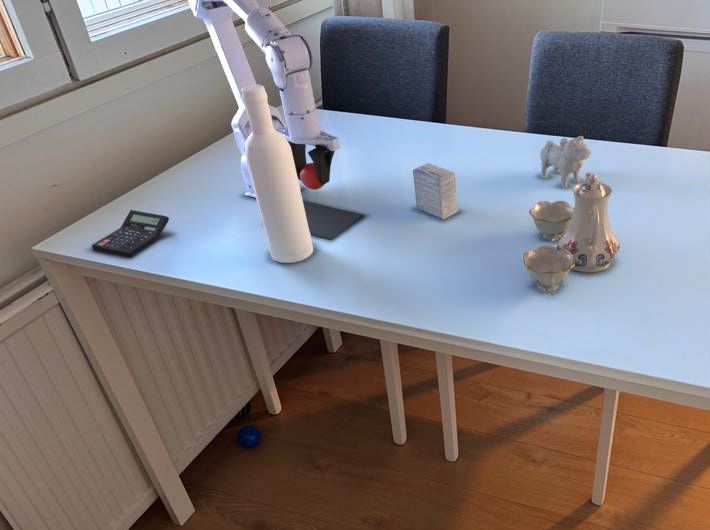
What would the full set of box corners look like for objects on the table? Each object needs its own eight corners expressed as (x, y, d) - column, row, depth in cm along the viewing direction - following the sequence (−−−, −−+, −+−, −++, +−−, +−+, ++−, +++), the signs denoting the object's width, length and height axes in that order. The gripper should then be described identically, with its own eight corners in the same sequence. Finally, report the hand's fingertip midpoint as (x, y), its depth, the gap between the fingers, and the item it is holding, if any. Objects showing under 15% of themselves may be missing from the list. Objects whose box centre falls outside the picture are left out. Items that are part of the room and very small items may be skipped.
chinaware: (524, 231, 131) (515, 149, 121) (610, 221, 129) (608, 138, 119) (528, 313, 109) (517, 222, 99) (631, 303, 107) (631, 209, 97)
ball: (297, 191, 130) (292, 166, 127) (314, 181, 133) (309, 157, 130) (317, 195, 128) (312, 170, 125) (334, 185, 131) (329, 161, 128)
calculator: (93, 249, 129) (86, 235, 127) (137, 222, 137) (132, 209, 135) (130, 256, 126) (124, 242, 124) (173, 228, 134) (168, 215, 132)
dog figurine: (576, 194, 140) (579, 144, 133) (535, 175, 148) (536, 128, 141) (594, 187, 142) (598, 138, 135) (553, 169, 150) (555, 121, 143)
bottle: (322, 248, 125) (288, 83, 107) (293, 267, 120) (251, 98, 102) (292, 239, 129) (253, 77, 110) (262, 257, 124) (216, 91, 105)
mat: (268, 224, 134) (267, 222, 134) (303, 202, 142) (303, 200, 141) (330, 240, 128) (330, 238, 128) (364, 216, 135) (364, 214, 135)
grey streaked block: (458, 212, 135) (456, 172, 130) (443, 220, 133) (439, 179, 127) (431, 202, 139) (428, 162, 134) (416, 209, 137) (411, 169, 131)
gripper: (345, 107, 121) (356, 178, 129) (284, 98, 126) (299, 167, 135) (320, 120, 116) (334, 193, 125) (258, 110, 122) (275, 180, 130)
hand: (314, 180), depth 129 cm, fingers closed on ball, 5 cm apart
